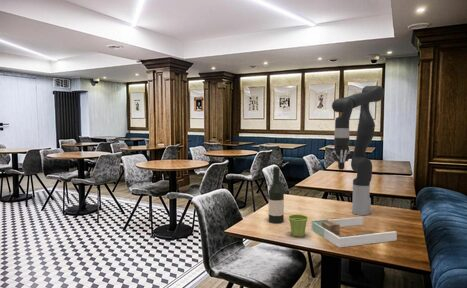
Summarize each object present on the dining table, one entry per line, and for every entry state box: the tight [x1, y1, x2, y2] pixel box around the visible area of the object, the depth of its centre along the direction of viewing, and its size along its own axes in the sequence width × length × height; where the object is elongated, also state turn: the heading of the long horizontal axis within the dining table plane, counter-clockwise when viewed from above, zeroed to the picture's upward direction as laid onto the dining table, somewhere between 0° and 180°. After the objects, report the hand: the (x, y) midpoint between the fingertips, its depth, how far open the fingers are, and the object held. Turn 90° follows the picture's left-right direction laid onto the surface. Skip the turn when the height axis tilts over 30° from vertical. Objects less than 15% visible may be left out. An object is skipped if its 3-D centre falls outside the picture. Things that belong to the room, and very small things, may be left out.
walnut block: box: [322, 221, 341, 236], centre depth 155 cm, size 6×6×5 cm
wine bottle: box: [268, 166, 285, 225], centre depth 172 cm, size 8×8×30 cm
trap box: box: [310, 216, 398, 248], centre depth 152 cm, size 30×24×5 cm
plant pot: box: [287, 214, 309, 238], centre depth 152 cm, size 9×9×9 cm
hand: (341, 169), depth 168 cm, fingers closed
